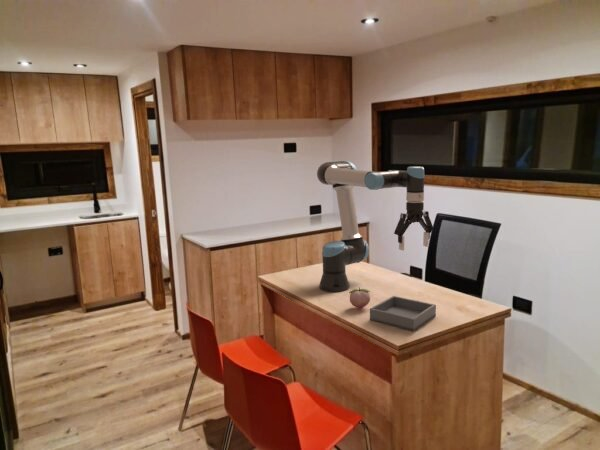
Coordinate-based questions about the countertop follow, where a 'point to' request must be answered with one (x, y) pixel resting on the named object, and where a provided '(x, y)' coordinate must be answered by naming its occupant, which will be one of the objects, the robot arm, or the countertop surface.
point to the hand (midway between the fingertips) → (413, 248)
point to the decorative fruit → (359, 297)
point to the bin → (403, 313)
